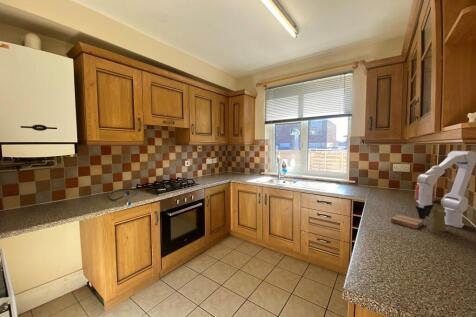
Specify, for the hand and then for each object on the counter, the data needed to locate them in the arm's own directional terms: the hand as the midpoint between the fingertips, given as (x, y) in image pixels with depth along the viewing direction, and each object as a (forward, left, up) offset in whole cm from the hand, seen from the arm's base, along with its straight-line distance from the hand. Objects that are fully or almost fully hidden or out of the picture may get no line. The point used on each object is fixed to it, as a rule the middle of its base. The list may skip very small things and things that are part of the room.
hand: (424, 217), depth 117 cm
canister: (-70, -16, -5) cm, 72 cm away
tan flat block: (+4, -7, -5) cm, 9 cm away
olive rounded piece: (0, +6, -5) cm, 8 cm away
